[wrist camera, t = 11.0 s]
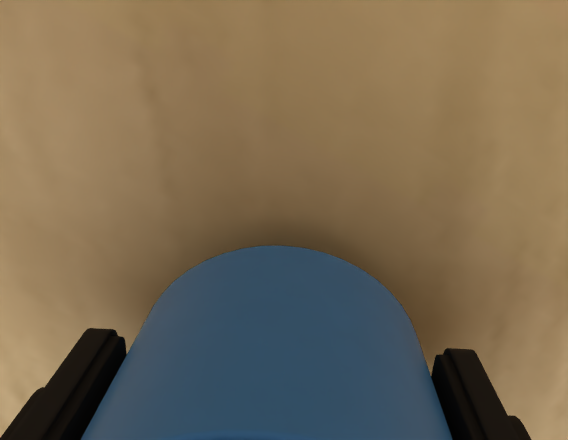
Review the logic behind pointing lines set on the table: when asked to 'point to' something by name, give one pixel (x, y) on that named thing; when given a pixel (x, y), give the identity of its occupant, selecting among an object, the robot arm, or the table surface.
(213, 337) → the tape roll
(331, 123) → the table surface
